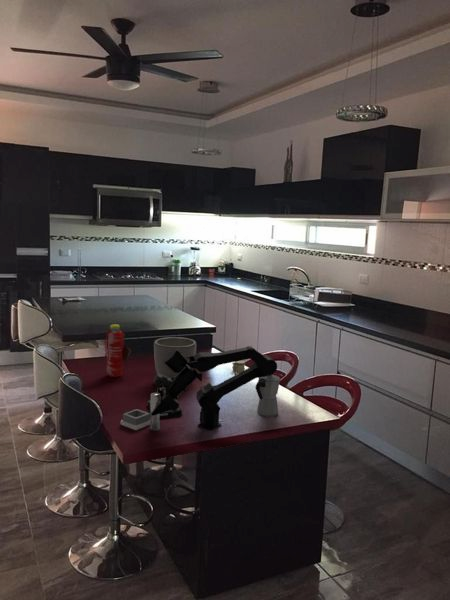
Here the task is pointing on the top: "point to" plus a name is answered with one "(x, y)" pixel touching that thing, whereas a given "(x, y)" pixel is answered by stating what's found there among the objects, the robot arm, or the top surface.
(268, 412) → the coffee maker
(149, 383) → the top surface
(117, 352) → the water bottle
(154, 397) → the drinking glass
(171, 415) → the disk drive
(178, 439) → the top surface
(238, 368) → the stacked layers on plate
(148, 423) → the square open box
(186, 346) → the planter
